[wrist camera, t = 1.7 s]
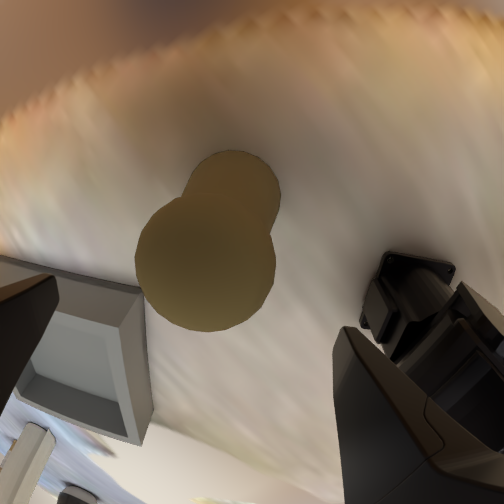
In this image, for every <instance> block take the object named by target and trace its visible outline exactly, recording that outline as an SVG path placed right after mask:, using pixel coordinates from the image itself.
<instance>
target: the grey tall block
mask: <svg viewBox="0 0 504 504" xmlns="http://www.w3.org/2000/svg"><path fill="white" fill-rule="evenodd" d="M55 444H56V443H55V438H54V437H53V435H52V434H51V432H50V431H49V429H48V431H47V432H46V431H45V430H44V429H42V428H41V427H39V426H37V425H35V424H33V423H28V424H26V426H25V428H24V430H23V431H22V433H21V435H20V437H19V438H18V440H17V442H16V444H15V446H14V447H13V449H12V451H11V453H10V455H9V457H8V459H7V460H6V462H5V464H4V466H3V468H2V470H1V472H0V504H28V503H29V500H30V498H31V496H32V493H33V491H34V489H35V487H36V485H37V482H38V480H39V478H40V476H41V474H42V471H43V469H44V467H45V465H46V463H47V461H48V459H49V457H50V455H51V452H52V450H53V448H54V446H55Z"/></svg>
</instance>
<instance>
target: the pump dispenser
mask: <svg viewBox="0 0 504 504" xmlns="http://www.w3.org/2000/svg"><path fill="white" fill-rule="evenodd" d="M57 504H98V503H97V501H96V499H95V497H94V496H93V495H92V494H90V493H89V492H87V491H85V490H84V489H81V488H79V487H75V486H69V487H66V488H65V489H64V490H63V491H62V492H60V494H59V496H58V501H57Z"/></svg>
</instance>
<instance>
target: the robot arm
mask: <svg viewBox="0 0 504 504" xmlns="http://www.w3.org/2000/svg"><path fill="white" fill-rule="evenodd" d="M389 257H392V259H391V260H390V261H387V260H388V258H389ZM450 268H451V269H450ZM449 269H450V271H448V270H449ZM455 270H456V268H455V266H454V265H453V264H452V263H450V262H444V261H439V260H434V259H429V258H424V257H418V256H413V255H408V254H402V253H397V252H392V251H388V252H386V253H385V254H384V255H383V257H382V260H381V263H380V266H379V269H378V272H377V275H376V277H375V278H374V279H373V280H372V282H371V285H370V288H369V290H368V293H367V296H366V299H365V301H364V304H363V307H362V308H363V313H362V315H361V318H360V321H359V323H360V326H361V328H363V329H370V330H371V332H372V334H373V337H374V340H375V341H376V343H377V344H381V345H382V348H383V350H384V353H385V354H383V353H382V352H381V351H380V350H379V349H378V348H377V347H376V346H375V345H374V344H373V343H372V342H371V341H370V340H369V339H368V338H366V337H365V336H364V335H363V334H362V333H361V332H360V331H359V330H358V329H357V328H355V327H348V326H343V327H342V328H341V329H340V332H339V334H338V337H337V339H336V342H335V345H334V347H333V353H332V357H333V398H334V407H335V415H336V423H337V431H338V439H339V448H340V457H341V467H342V477H343V488H344V500H345V504H504V316H503V315H502V314H501V313H500V311H499V310H498V309H497V308H496V307H494V306H493V305H492V304H491V303H489V302H488V301H487V300H486V299H484V298H483V297H482V296H481V295H479V294H478V293H477V292H476V291H474V290H473V289H472V288H470V287H469V286H468V285H467V284H465V283H464V282H463V281H461V282H460V283H459V285H458V286H457V287H456V289H457V290H456V291H455V292H454V291H453V290H452V289H451V287H450V286H449V285H450V283H451V281H452V278H453V276H454V273H455ZM59 300H60V296H59V291H58V285H57V280H56V277H55V276H54V275H52V274H48V273H42V274H39V275H36V276H33V277H30V278H27V279H24V280H21V281H18V282H15V283H12V284H9V285H6V286H3V287H0V416H1V414H2V412H3V410H4V408H5V406H6V403H7V401H8V399H9V397H10V395H11V393H12V391H13V389H14V388H15V386H16V384H17V382H18V380H19V378H20V376H21V374H22V372H23V371H24V369H25V367H26V365H27V363H28V361H29V360H30V358H31V356H32V354H33V353H34V351H35V349H36V347H37V346H38V344H39V342H40V340H41V339H42V337H43V335H44V333H45V330H46V328H47V326H48V324H49V322H50V320H51V318H52V316H53V314H54V312H55V310H56V308H57V306H58V304H59ZM366 321H368V322H367V323H364V322H366Z"/></svg>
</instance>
